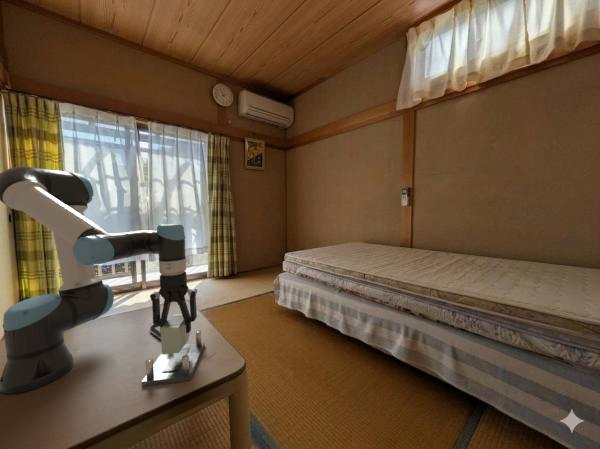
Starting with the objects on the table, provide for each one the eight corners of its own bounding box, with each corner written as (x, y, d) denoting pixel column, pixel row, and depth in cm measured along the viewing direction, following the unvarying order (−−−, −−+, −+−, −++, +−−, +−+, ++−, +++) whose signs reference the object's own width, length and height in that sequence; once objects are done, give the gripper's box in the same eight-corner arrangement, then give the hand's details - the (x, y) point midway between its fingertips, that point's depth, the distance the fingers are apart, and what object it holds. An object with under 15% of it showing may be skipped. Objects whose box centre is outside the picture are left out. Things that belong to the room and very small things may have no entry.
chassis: (141, 386, 67) (140, 364, 67) (166, 349, 85) (165, 332, 85) (190, 381, 69) (189, 359, 69) (204, 346, 87) (204, 329, 87)
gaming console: (146, 331, 99) (146, 325, 99) (169, 323, 106) (168, 317, 106) (168, 347, 87) (167, 341, 87) (191, 337, 94) (191, 330, 94)
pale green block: (161, 354, 71) (160, 328, 71) (173, 337, 81) (172, 314, 81) (179, 352, 72) (178, 326, 72) (189, 335, 82) (188, 312, 82)
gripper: (135, 277, 70) (140, 353, 72) (200, 274, 73) (203, 346, 75) (147, 271, 78) (151, 339, 79) (205, 268, 80) (208, 334, 82)
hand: (176, 342), depth 77 cm, fingers closed on pale green block, 5 cm apart
